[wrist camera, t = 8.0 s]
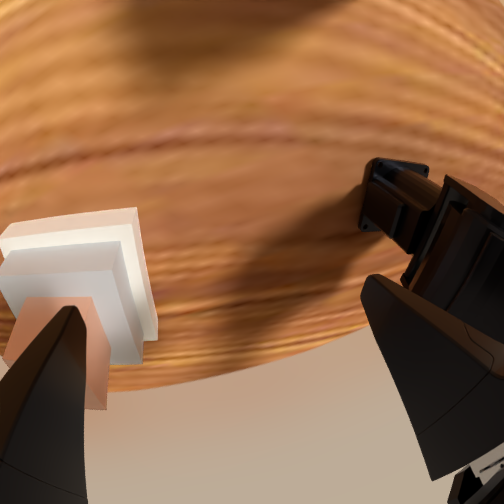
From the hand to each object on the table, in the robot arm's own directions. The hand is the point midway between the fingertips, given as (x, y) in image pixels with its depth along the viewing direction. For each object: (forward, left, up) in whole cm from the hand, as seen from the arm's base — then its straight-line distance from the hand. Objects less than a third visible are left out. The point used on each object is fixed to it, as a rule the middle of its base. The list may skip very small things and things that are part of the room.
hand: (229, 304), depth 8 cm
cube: (+10, +8, -7) cm, 14 cm away
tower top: (+10, +8, -10) cm, 16 cm away
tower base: (+10, +8, -13) cm, 18 cm away
